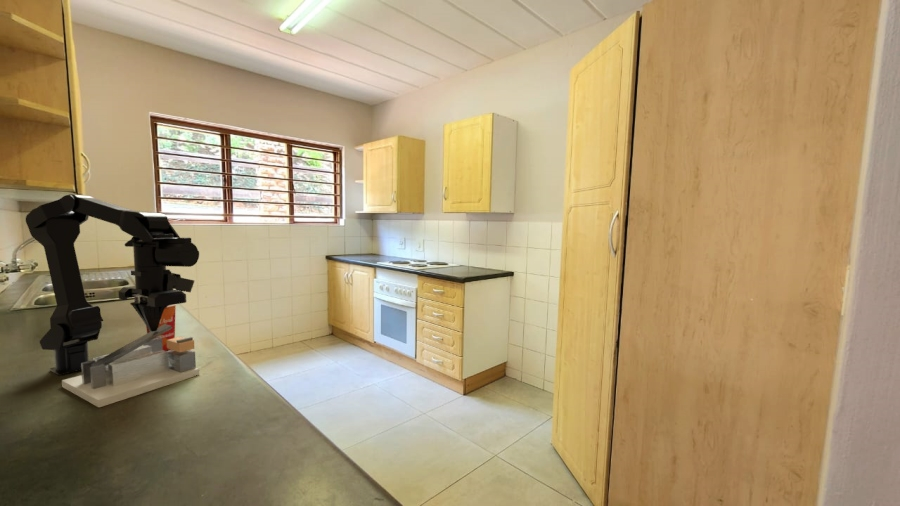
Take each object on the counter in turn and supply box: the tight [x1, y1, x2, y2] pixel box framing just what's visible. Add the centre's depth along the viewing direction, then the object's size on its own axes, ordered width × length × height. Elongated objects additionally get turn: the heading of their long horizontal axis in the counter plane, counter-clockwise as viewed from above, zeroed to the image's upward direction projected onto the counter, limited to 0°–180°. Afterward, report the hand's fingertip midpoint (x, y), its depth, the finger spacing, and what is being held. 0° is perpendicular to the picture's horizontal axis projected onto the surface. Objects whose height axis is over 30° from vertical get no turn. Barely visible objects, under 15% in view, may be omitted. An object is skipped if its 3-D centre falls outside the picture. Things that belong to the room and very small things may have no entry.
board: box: [61, 367, 200, 408], centre depth 82 cm, size 19×18×2 cm
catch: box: [167, 336, 195, 352], centre depth 85 cm, size 6×3×3 cm, turn 62°
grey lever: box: [90, 324, 172, 367], centre depth 82 cm, size 3×15×1 cm, turn 152°
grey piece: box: [80, 337, 197, 389], centre depth 83 cm, size 18×16×5 cm
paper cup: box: [145, 304, 178, 351], centre depth 103 cm, size 8×8×14 cm
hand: (153, 330), depth 86 cm, fingers closed
